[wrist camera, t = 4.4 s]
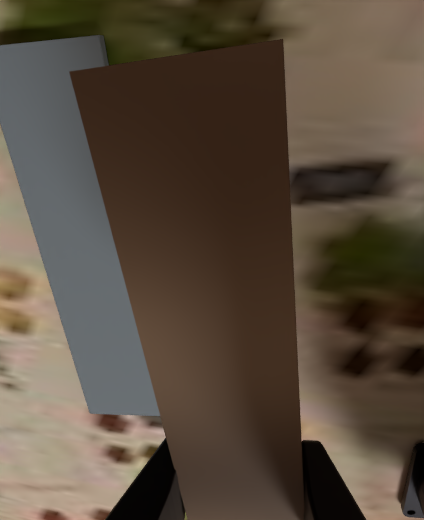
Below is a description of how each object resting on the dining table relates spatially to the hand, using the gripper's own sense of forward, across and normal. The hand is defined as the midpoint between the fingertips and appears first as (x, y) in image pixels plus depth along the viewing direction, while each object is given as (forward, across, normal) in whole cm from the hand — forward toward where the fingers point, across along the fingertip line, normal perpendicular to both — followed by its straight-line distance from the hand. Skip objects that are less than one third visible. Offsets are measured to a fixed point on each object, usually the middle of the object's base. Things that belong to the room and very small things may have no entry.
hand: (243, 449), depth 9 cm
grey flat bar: (+11, +8, +1) cm, 14 cm away
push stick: (+1, 0, 0) cm, 1 cm away
